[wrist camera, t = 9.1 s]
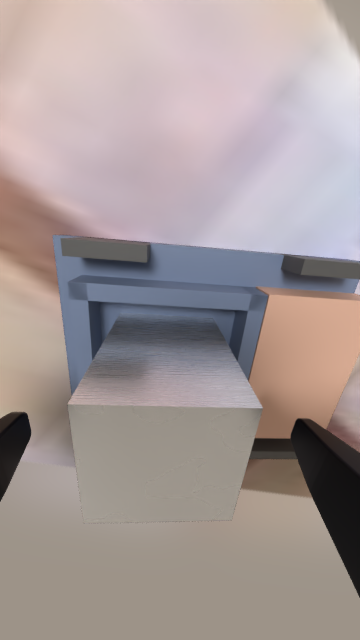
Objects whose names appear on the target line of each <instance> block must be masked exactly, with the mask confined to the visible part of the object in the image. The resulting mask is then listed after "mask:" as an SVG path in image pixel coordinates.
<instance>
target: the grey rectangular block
mask: <svg viewBox="0 0 360 640" xmlns="http://www.w3.org/2000/svg"><path fill="white" fill-rule="evenodd" d="M67 406H68V414H69V421H70V428H71V436H72V443H73V450H74V458H75V465H76V472H77V480H78V487H79V494H80V501H81V509H82V516H83V523H84V524H92V523H93V524H96V523H139V522H178V521H179V522H182V521H223V520H232V517H233V514H234V510H235V506H236V503H237V499H238V495H239V492H240V489H241V485H242V482H243V478H244V474H245V471H246V467H247V464H248V460H249V457H250V453H251V450H252V446H253V442H254V439H255V435H256V432H257V428H258V425H259V421H260V418H261V414H262V410H263V407H262V405H261V404H260V402H259V400H258V398H257V396H256V395H255V393H254V391H253V389H252V387H251V386H250V384H249V382H248V380H247V378H246V376H245V375H244V373H243V371H242V369H241V367H240V366H239V364H238V362H237V360H236V358H235V357H234V355H233V353H232V351H231V349H230V347H229V346H228V344H227V342H226V340H225V338H224V337H223V335H222V333H221V331H220V329H219V328H218V326H217V324H216V322H215V320H214V318H207V317H189V316H171V315H153V314H135V313H120V314H119V316H118V318H117V319H116V321H115V323H114V324H113V326H112V328H111V330H110V331H109V333H108V335H107V337H106V338H105V340H104V342H103V343H102V345H101V347H100V349H99V350H98V352H97V354H96V355H95V357H94V359H93V361H92V362H91V364H90V366H89V368H88V369H87V371H86V373H85V374H84V376H83V378H82V380H81V381H80V383H79V385H78V387H77V388H76V390H75V392H74V393H73V395H72V397H71V399H70V400H69V402H68V404H67Z"/></svg>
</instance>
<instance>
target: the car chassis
mask: <svg viewBox="0 0 360 640" xmlns="http://www.w3.org/2000/svg"><path fill="white" fill-rule="evenodd" d="M53 243H54V251H55V260H56V268H57V276H58V285H59V293H60V301H61V310H62V318H63V326H64V335H65V343H66V351H67V360H68V368H69V376H70V385H71V393H72V395H73V393H74V392H75V390H76V388H77V387H78V385H79V383H80V381H81V380H82V378H83V376H84V374H85V373H86V371H87V369H88V368H89V366H90V364H91V362H92V361H93V359H94V357H95V355H96V354H97V352H98V350H99V349H100V347H101V345H102V343H103V342H104V340H105V338H106V337H107V335H108V333H109V331H110V330H111V328H112V326H113V324H114V323H115V321H116V319H117V318H118V316H119V314H120V313H135V314H153V315H171V316H189V317H207V318H214V320H215V322H216V324H217V326H218V328H219V329H220V331H221V333H222V335H223V337H224V338H225V340H226V342H227V344H228V346H229V347H230V349H231V351H232V353H233V355H234V357H235V358H236V360H237V362H238V364H239V366H240V367H241V369H242V371H243V373H244V375H245V376H246V378H247V380H248V382H249V384H250V386H251V387H252V389H253V391H254V393H255V395H256V396H257V398H258V400H259V402H260V404H261V405H262V407H263V410H262V414H261V418H260V421H259V425H258V428H257V432H256V435H255V439H254V442H253V446H252V450H251V453H250V457H249V459H297V457H296V454H295V451H294V449H293V446H292V443H291V439H290V436H291V432H292V429H293V427H294V424H295V421H296V420H297V419H298V418H309V419H311V420H313V421H314V422H316V423H317V424H319V425H320V426H322V427H323V428H324V429H326V428H327V426H328V424H329V422H330V419H331V417H332V415H333V413H334V410H335V408H336V406H337V403H338V401H339V399H340V397H341V394H342V392H343V390H344V388H345V385H346V383H347V381H348V378H349V376H350V374H351V372H352V369H353V367H354V365H355V363H356V360H357V358H358V356H359V353H360V295H357V294H354V292H355V289H356V287H357V284H358V282H359V279H360V261H354V260H346V259H335V258H323V257H312V256H300V255H289V254H277V253H266V252H254V251H243V250H231V249H219V248H208V247H196V246H185V245H173V244H162V243H150V242H139V241H127V240H116V239H104V238H92V237H81V236H69V235H53Z"/></svg>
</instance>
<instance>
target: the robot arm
mask: <svg viewBox="0 0 360 640" xmlns="http://www.w3.org/2000/svg"><path fill="white" fill-rule="evenodd" d="M30 437H31V428H30V423H29V419H28V415H27V413H25V412H11V413H9V414H7V415H6V416H4V417H2V418H1V419H0V501H1V499H2V497H3V496H4V494H5V492H6V490H7V488H8V485H9V483H10V481H11V479H12V477H13V475H14V472H15V470H16V468H17V466H18V464H19V462H20V459H21V457H22V455H23V453H24V451H25V448H26V446H27V444H28V442H29V440H30ZM290 439H291V443H292V446H293V449H294V451H295V454H296V457H297V459H298V462H299V465H300V467H301V470H302V473H303V475H304V478H305V481H306V483H307V486H308V488H309V491H310V493H311V495H312V497H313V500H314V502H315V504H316V506H317V508H318V510H319V512H320V514H321V517H322V519H323V521H324V523H325V525H326V527H327V529H328V531H329V534H330V536H331V538H332V540H333V542H334V544H335V546H336V548H337V550H338V553H339V555H340V557H341V559H342V561H343V563H344V565H345V567H346V569H347V572H348V574H349V576H350V578H351V580H352V582H353V584H354V587H355V589H356V590H357V593H358V595H359V597H360V453H359V452H358V451H356V450H355V449H353V448H352V447H351V446H349V445H348V444H346V443H345V442H343V441H342V440H340V439H339V438H337V437H336V436H335V435H333V434H332V433H330V432H329V431H327V430H326V429H324V428H323V427H322V426H320V425H319V424H317V423H316V422H314V421H313V420H311V419H309V418H298V419H297V420H296V421H295V424H294V427H293V429H292V432H291V436H290Z"/></svg>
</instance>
